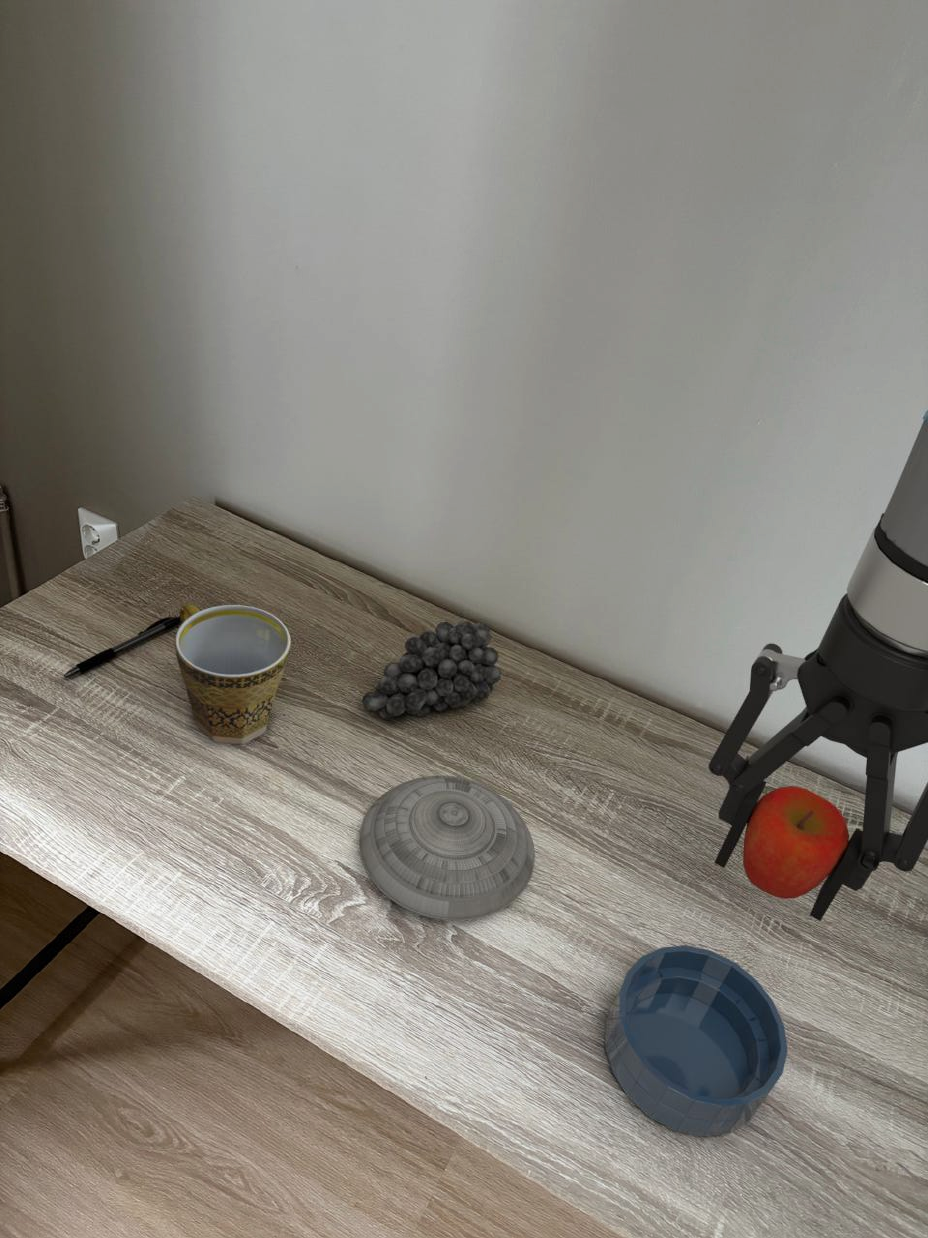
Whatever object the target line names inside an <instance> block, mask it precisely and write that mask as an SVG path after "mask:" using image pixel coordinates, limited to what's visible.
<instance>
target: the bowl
mask: <svg viewBox="0 0 928 1238" xmlns="http://www.w3.org/2000/svg"><path fill="white" fill-rule="evenodd" d="M612 1003H613V1004H612V1006H611V1008H610V1011H609V1013H608V1016H607V1019H606V1021H605V1034H604V1035H605V1037H604V1038H605V1039H604V1041H605V1042H604V1043H605V1044H604V1046H605V1047H604V1048H605V1051H606V1054H607V1058H608V1061H609V1065H610V1068H611V1071H612V1073H613V1075H614V1078H616V1080H617V1082H618V1083H619V1085H620V1087H621V1089H623V1091H624V1093H625V1094H626V1096H627V1097H628V1099H629V1100H631V1102H632V1103H634V1104H635V1105H636V1106H637V1107H638V1108H639V1109H640V1110H641V1111H642V1112H644V1114H646V1116H647V1117H649V1118H650V1119H652V1120H654V1121H656V1122H657V1123H659V1124H661V1125H663V1126H665V1127H667V1128H669V1129H671V1130H673V1131H675V1132H678V1133H683V1134H686V1135H687V1134H689V1135H692V1136H697V1137H712V1136H719V1135H720V1136H721V1135H727V1134H730V1133H732V1132H734V1131H736V1130H737V1129H739V1128H741V1127H743V1126H745V1125H746V1124H747V1123H749V1122H750V1121H751V1120H752V1118H753V1117H754V1116H755V1114H756V1113H757V1112H758V1110H759V1109H760V1107H761V1106H762V1104H763V1103H764V1102H765V1100H766V1098H767V1097H768V1096H769V1094H770V1093H771V1091H772V1090H773V1088H774V1087H775V1085H777V1082H778V1081H779V1080H780V1079H781V1077H782V1076H783V1074H784V1070H785V1065H786V1061H787V1056H788V1042H787V1037H786V1029H785V1024H784V1021H783V1020H782V1016H781V1015H780V1012H779V1011H778V1009H777V1006H776V1004H775V1002H774V1000H773V999H772V998H771V996H770V995H769V994H768V992H767V991H766V990H765V988H764V987H763V985H761V983H759V981H758V980H757V979H756V978H755V977H754V976H752V974H750V973H749V972H748V971H746V970H745V968H742V967H741V966H740V965H739V964H738V963H737V962H735V961H733V960H732V959H729V958H727V957H725V956H723V955H720V953H719V954H718V953H717V952H714V951H712V950H710V949H705V948H700V947H695V946H690V945H685V944H684V945H673V946H662V947H660V948H658V949H655V950H653V951H651V952H648V953H646V954H644V955H642V956H641V957H640V958H639V959H638V960H637V961H636V962H635V963H634V964H633V965H632V966H631V967H630V968H629V969H628V970H627V972H626V973H625V975H624V978H623V981H622V983H621V985H620V987H619V990H618V992H617V994H616V996H615V999H614V1001H613V1002H612Z"/></svg>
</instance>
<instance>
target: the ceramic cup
mask: <svg viewBox="0 0 928 1238" xmlns="http://www.w3.org/2000/svg"><path fill="white" fill-rule="evenodd" d="M179 616H180V619H181V622H180V625H179V626H178V629H177V630H176V632H175V635H174V648H175V649H174V650H175V655H176V661H177V663H178V669H179V672H180V675H181V677H182V680H183V684H184V685H185V690H186V694H187V697H188V701H189V705H190V707H191V711H192V716H193V719H194V722H195V725H196V726H197V727H198V728H199V729H200V730H201V731H202V732H203V733H204V734H205V735H206V736H207V737H208V738H209V739H210V740H211V741H212V742H214V743H220V744H231V745H246V744H247V743H249V742H251V741H252V740H255V739H256V738H258V737H260V736H262V735H264V734H265V732H266V730H267V727H268V724H269V721H270V720H269V719H270V716H271V712H272V708H273V704H274V700H275V698H276V694H277V690H278V688H279V687H280V686H279V685H280V683H281V681H282V678H283V676H284V671H285V669H286V665H287V662H288V658H289V653H290V650H291V644H292V640H291V635H290V632H289V629H288V628H287V627H286V625H285V624H284V623H283V622H282V621H281V620H280V618H278V617H277V616H276V615H274V614H272V613H270V612H268V611H266V610H263V609H260V608H257V607H253V606H248V605H240V604H225V605H217V606H212V607H209V608H205V609H202V610H200V609H199V608H197V607H196V606H194V605H193V604H187V603H186V604H184V605H182V606H181V607H180V609H179Z"/></svg>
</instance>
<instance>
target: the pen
mask: <svg viewBox="0 0 928 1238" xmlns="http://www.w3.org/2000/svg"><path fill="white" fill-rule="evenodd" d="M181 623H182V622H181V619H180V615H179V616H168V617H164V618H161V619H158V620H156V621H154V622H153V623H151V624H150V625H149V626H147V627H146V628H145V630H142V631H139V632H138V633H137V635H135V636H133V637H131V638H129V639H128V640H124V641H123V642H121V643H119V644H117V645H115V646H113V647H109V648H107V649H104V650H102V651H100V652H98V653H96V654H95V655H93V656H91V657H88V658H87V659H85V660H83V661H81V662H79V663H77V664H76V665H75V666H74V667H72V668H70V669H68V670H67V671H66V672H65V674H64V675H63V677H64V678H65V679H69V678H74V677H76V676H79V675H84V674H85V673H87V672H89V671H91V670H93V669H96V668H97V667H100V666H102V665H104V664H107V663H108V662H110V661H112V660H113V659H116V657H117V656H120V655H121V654H123V653H126V652H127V651H129V650H131V649H133V648H135V647H137V646H139V645H141V644H143V643H146V642H147V641H149V640H151V639H153V638H155V637H157V636H160V635H161V634H164V633H165V632H168V631H170V630H172V629H174V628H176V627H179V626H180V625H181Z"/></svg>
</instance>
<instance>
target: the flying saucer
mask: <svg viewBox="0 0 928 1238" xmlns="http://www.w3.org/2000/svg"><path fill="white" fill-rule="evenodd" d="M364 815H365V816H364V818H363V820H362V822H361V825H360V828H359V835H358V849H359V856H360V859H361V862H362V864H363V867H364V870H365V871H366V873H367V876H368V877H369V878H370V879H371V881H372V882H373V883H374V885H375V886H376V887H377V889H379V890H380V892H382V893H383V894H384V895H385V896H386V898H388V899H390V900H391V901H393V902H394V903H395V904H396V905H398V906H400V907H402V908H403V909H406V910H407V911H410V912H412V913H415V914H417V915H420V916H423V917H427V918H430V919H434V920H435V919H436V920H441V921H450V922H451V921H452V922H453V921H459V922H460V921H470V920H476V919H480V918H484V917H488V916H491V915H493V914H495V913H498V912H499V911H501V910H504V908H506V907H508V906H509V905H511V904H512V903H513V902H515V901H516V900H517V899H518V898H519V896H521V894H522V893H523V892H524V890H525V889H526V888H527V886H528V885H529V882H530V880H531V879H532V875H533V872H534V868H535V861H536V853H535V845H534V841H533V838H532V834H531V832H530V830H529V828H528V826H527V824H526V822H525V820H524V819H523V817H522V815H521V814H520V813H519V811H518V810H517V809H516V808H515V807H514V806H513V805H512V804H511V803H510V802H509V801H508V800H507V799H505V798H504V797H503V796H502V795H500V794H499V793H498V792H496V791H495V790H493V789H492V788H489V787H488V786H486V785H484V784H481V783H479V782H477V781H474V780H472V779H468V778H464V777H459V776H454V775H453V776H452V775H428V776H422V777H418V778H417V777H416V778H412V779H410V780H407V781H405V782H402V783H400V784H398V785H396V786H394V787H392V788H391V789H389V790H388V791H386V792H384V794H382V795H381V796H380V797H378V799H376V800H375V801H374V803H373V804H372V805H371V806H369V808H368V810H367V811H366V814H364Z"/></svg>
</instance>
